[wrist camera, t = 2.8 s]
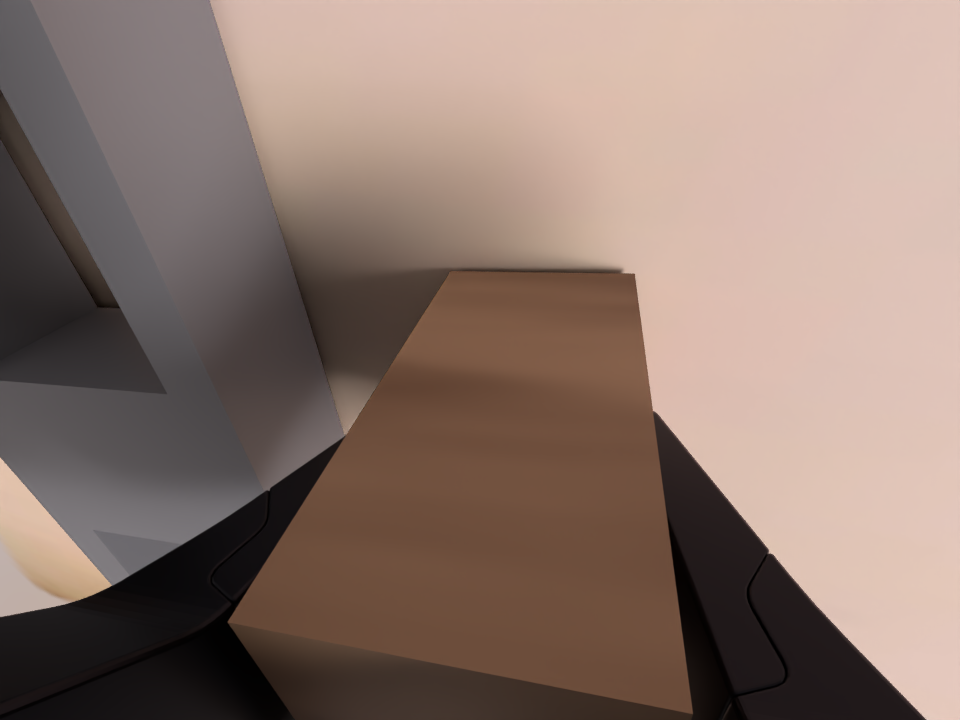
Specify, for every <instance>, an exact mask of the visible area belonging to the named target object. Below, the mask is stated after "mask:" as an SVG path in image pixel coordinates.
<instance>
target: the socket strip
mask: <svg viewBox="0 0 960 720" xmlns="http://www.w3.org/2000/svg"><path fill="white" fill-rule="evenodd" d="M0 90H1V92H2V93H3V95H4V97H5V99H6V101H7V103H8V104H9V106H10V108H11V110H12V112H13V114H14V115H15V117H16V119H17V121H18V123H19V124H20V126H21V128H22V130H23V132H24V134H25V135H26V137H27V139H28V141H29V143H30V144H31V146H32V148H33V150H34V152H35V154H36V155H37V157H38V159H39V161H40V163H41V165H42V166H43V168H44V170H45V172H46V174H47V175H48V177H49V179H50V181H51V183H52V185H53V186H54V188H55V190H56V192H57V194H58V195H59V197H60V199H61V201H62V203H63V205H64V206H65V208H66V210H67V212H68V214H69V216H70V217H71V219H72V221H73V223H74V225H75V226H76V228H77V230H78V232H79V234H80V236H81V237H82V239H83V241H84V243H85V245H86V246H87V248H88V250H89V252H90V254H91V256H92V257H93V259H94V261H95V263H96V265H97V267H98V268H99V270H100V272H101V274H102V276H103V277H104V279H105V281H106V283H107V285H108V287H109V288H110V290H111V292H112V294H113V296H114V298H115V299H116V301H117V303H118V305H119V307H120V308H98V307H97V306H96V304H95V302H94V300H93V299H92V297H91V295H90V293H89V292H88V290H87V288H86V287H85V285H84V283H83V281H82V280H81V278H80V276H79V274H78V273H77V271H76V269H75V267H74V266H73V264H72V262H71V261H70V259H69V257H68V255H67V254H66V252H65V250H64V248H63V247H62V245H61V243H60V242H59V240H58V238H57V236H56V235H55V233H54V231H53V229H52V228H51V226H50V224H49V222H48V221H47V219H46V217H45V216H44V214H43V212H42V210H41V209H40V207H39V205H38V203H37V202H36V200H35V198H34V197H33V195H32V193H31V191H30V190H29V188H28V186H27V184H26V183H25V181H24V179H23V177H22V176H21V174H20V172H19V171H18V169H17V167H16V165H15V164H14V162H13V160H12V158H11V157H10V155H9V153H8V152H7V150H6V148H5V146H4V145H3V143H2V141H1V139H0V457H1V459H2V460H3V461H4V462H5V463H6V464H7V465H8V467H9V468H10V469H11V470H12V471H13V472H14V473H15V475H16V476H17V477H18V478H19V479H20V480H21V481H22V483H23V484H24V485H25V486H26V487H27V488H28V489H29V491H30V492H31V493H32V494H33V495H34V496H35V497H36V499H37V500H38V501H39V502H40V503H41V504H42V506H43V507H44V508H45V509H46V510H47V511H48V512H49V514H50V515H51V516H52V517H53V518H54V519H55V520H56V522H57V523H58V524H59V525H60V526H61V527H62V528H63V530H64V531H65V532H66V533H67V534H68V535H69V536H70V538H71V539H72V540H73V541H74V542H75V543H76V545H77V546H78V547H79V548H80V549H81V550H82V551H83V553H84V554H85V555H86V556H87V557H88V558H89V559H90V561H91V562H92V563H93V564H94V565H95V566H96V567H97V569H98V570H99V571H100V572H101V573H102V574H103V575H104V577H105V578H106V579H107V580H108V581H109V582H110V583H111V585H112V586H113V585H114V584H116V583H118V582H120V581H121V580H123V579H125V578H127V577H128V576H130V575H132V574H133V573H135V572H137V571H138V570H140V569H142V568H143V567H145V566H147V565H148V564H150V563H152V562H153V561H155V560H157V559H159V558H160V557H162V556H164V555H165V554H167V553H169V552H170V551H172V550H174V549H175V548H177V547H179V546H180V545H182V544H184V543H185V542H187V541H189V540H191V539H192V538H194V537H195V536H197V535H199V534H200V533H202V532H204V531H205V530H207V529H208V528H210V527H212V526H213V525H215V524H217V523H218V522H220V521H221V520H223V519H225V518H226V517H228V516H229V515H231V514H232V513H234V512H235V511H237V510H238V509H240V508H241V507H243V506H244V505H246V504H247V503H249V502H250V501H252V500H253V499H254V498H256V497H257V496H259V495H260V494H262V493H263V492H265V491H266V490H269V491H270V488H271V487H272V486H273V485H275V484H276V483H278V482H279V481H281V480H282V479H284V478H285V477H286V476H288V475H289V474H291V473H292V472H294V471H295V470H297V469H298V468H299V467H301V466H302V465H304V464H305V463H307V462H308V461H310V460H311V459H312V458H314V457H315V456H317V455H318V454H320V453H321V452H323V451H324V450H325V449H327V448H328V447H330V446H331V445H333V444H334V443H336V442H337V441H338V440H340V439H341V438H343V437H344V432H343V429H342V426H341V423H340V420H339V416H338V413H337V410H336V407H335V403H334V400H333V397H332V394H331V391H330V387H329V384H328V381H327V378H326V374H325V371H324V368H323V365H322V362H321V358H320V355H319V352H318V349H317V345H316V342H315V339H314V336H313V333H312V329H311V326H310V323H309V320H308V316H307V313H306V310H305V307H304V304H303V300H302V297H301V294H300V291H299V287H298V284H297V281H296V278H295V275H294V271H293V268H292V265H291V262H290V258H289V255H288V252H287V249H286V246H285V242H284V239H283V236H282V233H281V229H280V226H279V223H278V220H277V217H276V213H275V210H274V207H273V204H272V200H271V197H270V194H269V191H268V188H267V184H266V181H265V178H264V175H263V171H262V168H261V165H260V162H259V159H258V155H257V152H256V149H255V146H254V142H253V139H252V136H251V133H250V130H249V126H248V123H247V120H246V117H245V114H244V110H243V107H242V104H241V101H240V97H239V94H238V91H237V88H236V85H235V81H234V78H233V75H232V72H231V68H230V65H229V62H228V59H227V56H226V52H225V49H224V46H223V43H222V39H221V36H220V33H219V30H218V27H217V23H216V20H215V17H214V14H213V10H212V7H211V4H210V1H209V0H0Z"/></svg>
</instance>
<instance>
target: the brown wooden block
mask: <svg viewBox="0 0 960 720" xmlns="http://www.w3.org/2000/svg"><path fill="white" fill-rule="evenodd" d="M228 624H229V625H230V627H231V628H232V629H233V631H234V632H235V634H236V635H237V637H238V638H239V640H240V641H241V642H242V644H243V645H244V647H245V648H246V650H247V651H248V653H249V654H250V655H251V657H252V658H253V660H254V661H255V663H256V664H257V666H258V667H259V668H260V670H261V671H262V673H263V674H264V676H265V677H266V679H267V680H268V681H269V683H270V684H271V686H272V687H273V689H274V690H275V691H276V693H277V694H278V696H279V697H280V699H281V700H282V702H283V703H284V704H285V706H286V707H287V709H288V710H289V712H290V713H291V715H292V716H293V717H294V719H295V720H691V718H692V715H693V710H692V703H691V695H690V688H689V680H688V672H687V665H686V657H685V650H684V642H683V635H682V627H681V620H680V612H679V605H678V597H677V590H676V582H675V575H674V567H673V559H672V552H671V544H670V537H669V529H668V522H667V514H666V507H665V499H664V492H663V484H662V477H661V469H660V462H659V454H658V446H657V439H656V431H655V424H654V416H653V409H652V401H651V394H650V386H649V379H648V371H647V364H646V356H645V349H644V341H643V333H642V326H641V318H640V311H639V303H638V296H637V288H636V281H635V274H618V273H546V272H474V271H450V273H449V274H448V276H447V278H446V279H445V281H444V282H443V284H442V285H441V287H440V289H439V290H438V292H437V293H436V295H435V296H434V298H433V300H432V301H431V303H430V304H429V306H428V307H427V309H426V311H425V312H424V314H423V315H422V317H421V318H420V320H419V322H418V323H417V325H416V326H415V328H414V329H413V331H412V333H411V334H410V336H409V337H408V339H407V340H406V342H405V344H404V345H403V347H402V348H401V350H400V351H399V353H398V355H397V356H396V358H395V359H394V361H393V362H392V364H391V366H390V367H389V369H388V370H387V372H386V374H385V375H384V377H383V378H382V380H381V381H380V383H379V385H378V386H377V388H376V389H375V391H374V392H373V394H372V396H371V397H370V399H369V400H368V402H367V403H366V405H365V407H364V408H363V410H362V411H361V413H360V414H359V416H358V418H357V419H356V421H355V422H354V424H353V425H352V427H351V429H350V430H349V432H348V433H347V435H346V436H345V438H344V440H343V441H342V443H341V444H340V446H339V447H338V449H337V451H336V452H335V454H334V455H333V457H332V458H331V460H330V462H329V463H328V465H327V466H326V468H325V469H324V471H323V473H322V474H321V476H320V477H319V479H318V481H317V482H316V484H315V485H314V487H313V488H312V490H311V492H310V493H309V495H308V496H307V498H306V499H305V501H304V503H303V504H302V506H301V507H300V509H299V510H298V512H297V514H296V515H295V517H294V518H293V520H292V521H291V523H290V525H289V526H288V528H287V529H286V531H285V532H284V534H283V536H282V537H281V539H280V540H279V542H278V543H277V545H276V547H275V548H274V550H273V551H272V553H271V554H270V556H269V558H268V559H267V561H266V562H265V564H264V565H263V567H262V569H261V570H260V572H259V573H258V575H257V576H256V578H255V580H254V581H253V583H252V584H251V586H250V588H249V589H248V591H247V592H246V594H245V595H244V597H243V599H242V600H241V602H240V603H239V605H238V606H237V608H236V610H235V611H234V613H233V614H232V616H231V617H230V619H229V621H228Z"/></svg>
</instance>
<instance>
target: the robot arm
mask: <svg viewBox="0 0 960 720" xmlns="http://www.w3.org/2000/svg"><path fill="white" fill-rule="evenodd" d="M653 416H654V424H655V431H656V439H657V446H658V454H659V462H660V469H661V477H662V484H663V492H664V499H665V507H666V514H667V522H668V529H669V537H670V544H671V552H672V559H673V567H674V575H675V582H676V590H677V597H678V605H679V612H680V620H681V627H682V635H683V642H684V650H685V657H686V665H687V672H688V680H689V688H690V695H691V703H692V710H693V715H692V718H691V720H926V719H925V718H924V717H923V716H922V715H921V714H920V713H919V712H918V711H917V710H916V709H915V708H914V707H913V706H912V704H911V703H910V702H909V701H908V700H907V699H906V698H905V697H904V696H903V695H902V694H901V693H900V692H899V691H898V690H897V689H896V688H895V687H894V686H893V685H892V684H891V683H890V682H889V681H888V680H887V679H886V678H885V677H884V676H883V675H882V674H881V673H880V672H879V671H878V670H877V669H876V668H875V667H874V666H873V665H872V664H871V663H870V661H869V660H868V659H867V658H866V657H865V656H864V655H863V654H862V653H861V652H860V651H859V650H858V649H857V648H856V647H855V646H854V645H853V644H852V643H851V642H850V641H849V640H848V639H847V638H846V637H845V636H844V635H843V634H842V633H841V631H840V630H839V629H838V628H837V627H836V626H835V625H834V624H833V623H832V622H831V621H830V620H829V619H828V618H827V617H826V615H825V614H824V613H823V612H822V611H821V610H820V609H819V608H818V607H817V606H816V605H815V604H814V602H813V601H812V600H811V599H810V598H809V597H808V596H807V594H806V593H805V592H804V591H803V590H802V589H801V587H800V586H799V585H798V584H797V583H796V582H795V580H794V579H793V578H792V577H791V576H790V575H789V573H788V572H787V571H786V570H785V569H784V567H783V566H782V565H781V564H780V562H779V561H778V560H777V559H776V558H775V556H774V555H773V554H769V549H768V548H767V547H766V546H765V544H764V543H763V542H762V541H761V540H760V538H759V537H758V536H757V535H756V533H755V532H754V531H753V530H752V529H751V527H750V526H749V525H748V524H747V522H746V521H745V520H744V519H743V518H742V516H741V515H740V514H739V513H738V511H737V510H736V509H735V508H734V507H733V505H732V504H731V503H730V502H729V500H728V499H727V498H726V497H725V496H724V494H723V493H722V492H721V491H720V489H719V488H718V487H717V486H716V485H715V483H714V482H713V481H712V480H711V478H710V477H709V476H708V475H707V474H706V472H705V471H704V470H703V469H702V467H701V466H700V465H699V464H698V463H697V461H696V460H695V459H694V458H693V456H692V455H691V454H690V453H689V452H688V450H687V449H686V448H685V447H684V445H683V444H682V443H681V442H680V441H679V439H678V438H677V437H676V436H675V434H674V433H673V432H672V431H671V430H670V428H669V427H668V426H667V425H666V424H665V422H664V421H663V420H662V419H661V417H660V416H659V415H658V414H657V413H656V412H654V411H653ZM344 438H345V436H344V437H343V438H341V439H340V440H338V441H337V442H336V443H334V444H333V445H331V446H330V447H328V448H327V449H325V450H324V451H323V452H321V453H320V454H318V455H317V456H315V457H314V458H312V459H311V460H310V461H308V462H307V463H305V464H304V465H302V466H301V467H299V468H298V469H297V470H295V471H294V472H292V473H291V474H289V475H288V476H286V477H285V478H284V479H282V480H281V481H279V482H278V483H276V484H275V485H273V486H272V487H271V488H270V491H269V490H266V491H265V492H263V493H262V494H260V495H259V496H257V497H256V498H254V499H253V500H252V501H250V502H249V503H247V504H246V505H244V506H243V507H241V508H240V509H238V510H237V511H235V512H234V513H232V514H231V515H229V516H228V517H226V518H225V519H223V520H221V521H220V522H218V523H217V524H215V525H213V526H212V527H210V528H208V529H207V530H205V531H204V532H202V533H200V534H199V535H197V536H195V537H194V538H192V539H191V540H189V541H187V542H185V543H184V544H182V545H180V546H179V547H177V548H175V549H174V550H172V551H170V552H169V553H167V554H165V555H164V556H162V557H160V558H159V559H157V560H155V561H153V562H152V563H150V564H148V565H147V566H145V567H143V568H142V569H140V570H138V571H137V572H135V573H133V574H132V575H130V576H128V577H127V578H125V579H123V580H121V581H120V582H118V583H116V584H114V585H113V586H111V587H109V588H107V589H105V590H103V591H101V592H99V593H96V594H94V595H92V596H89V597H86V598H84V599H81V600H78V601H75V602H72V603H68V604H65V605H61V606H56V607H51V608H46V609H41V610H35V611H30V612H25V613H20V614H14V615H10V616H4V617H0V720H295V719H294V717H293V716H292V715H291V713H290V712H289V710H288V709H287V707H286V706H285V704H284V703H283V702H282V700H281V699H280V697H279V696H278V694H277V693H276V691H275V690H274V689H273V687H272V686H271V684H270V683H269V681H268V680H267V679H266V677H265V676H264V674H263V673H262V671H261V670H260V668H259V667H258V666H257V664H256V663H255V661H254V660H253V658H252V657H251V655H250V654H249V653H248V651H247V650H246V648H245V647H244V645H243V644H242V642H241V641H240V640H239V638H238V637H237V635H236V634H235V632H234V631H233V629H232V628H231V627H230V625H229V624H228V621H229V619H230V617H231V616H232V614H233V613H234V611H235V610H236V608H237V606H238V605H239V603H240V602H241V600H242V599H243V597H244V595H245V594H246V592H247V591H248V589H249V588H250V586H251V584H252V583H253V581H254V580H255V578H256V576H257V575H258V573H259V572H260V570H261V569H262V567H263V565H264V564H265V562H266V561H267V559H268V558H269V556H270V554H271V553H272V551H273V550H274V548H275V547H276V545H277V543H278V542H279V540H280V539H281V537H282V536H283V534H284V532H285V531H286V529H287V528H288V526H289V525H290V523H291V521H292V520H293V518H294V517H295V515H296V514H297V512H298V510H299V509H300V507H301V506H302V504H303V503H304V501H305V499H306V498H307V496H308V495H309V493H310V492H311V490H312V488H313V487H314V485H315V484H316V482H317V481H318V479H319V477H320V476H321V474H322V473H323V471H324V469H325V468H326V466H327V465H328V463H329V462H330V460H331V458H332V457H333V455H334V454H335V452H336V451H337V449H338V447H339V446H340V444H341V443H342V441H343V440H344Z"/></svg>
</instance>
